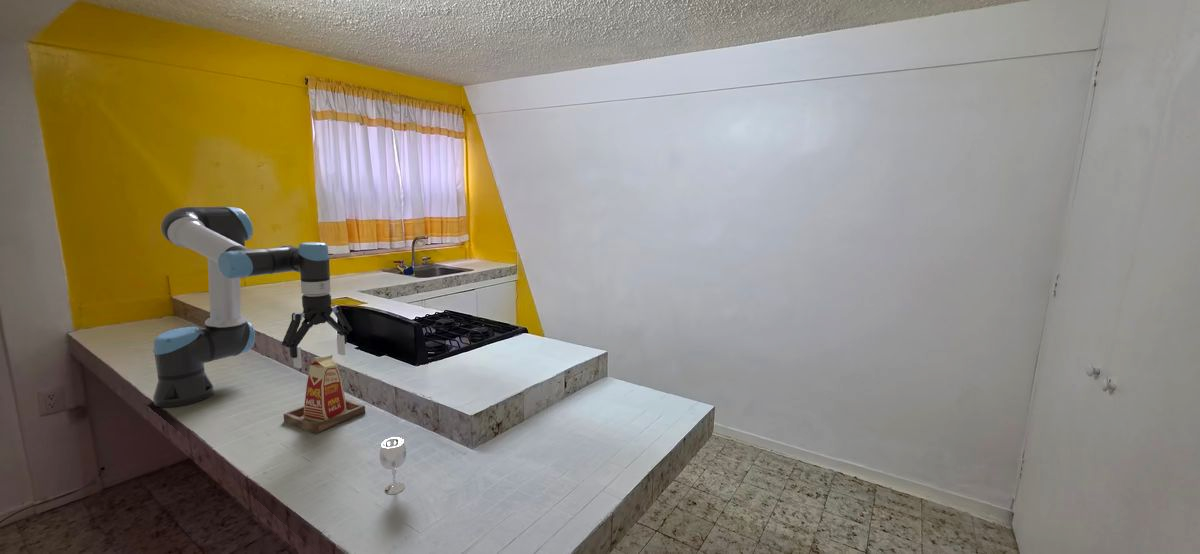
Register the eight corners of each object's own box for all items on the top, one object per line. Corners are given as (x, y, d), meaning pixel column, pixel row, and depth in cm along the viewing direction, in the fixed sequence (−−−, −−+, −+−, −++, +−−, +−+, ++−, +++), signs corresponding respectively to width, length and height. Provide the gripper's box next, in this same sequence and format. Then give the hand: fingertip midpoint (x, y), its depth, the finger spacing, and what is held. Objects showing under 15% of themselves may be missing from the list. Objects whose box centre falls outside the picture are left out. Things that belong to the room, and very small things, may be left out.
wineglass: (386, 481, 113) (384, 436, 111) (410, 480, 113) (408, 436, 111) (377, 496, 107) (375, 449, 105) (402, 495, 107) (400, 448, 106)
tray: (284, 421, 141) (283, 413, 140) (334, 401, 155) (333, 394, 154) (315, 434, 133) (315, 426, 133) (365, 412, 148) (364, 405, 147)
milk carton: (326, 423, 139) (322, 361, 136) (302, 419, 141) (296, 357, 138) (349, 410, 148) (345, 351, 144) (326, 406, 150) (321, 348, 146)
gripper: (279, 303, 125) (285, 376, 128) (362, 288, 147) (365, 351, 150) (263, 299, 128) (269, 370, 132) (347, 286, 150) (350, 347, 154)
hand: (320, 360), depth 141 cm, fingers open, 13 cm apart
